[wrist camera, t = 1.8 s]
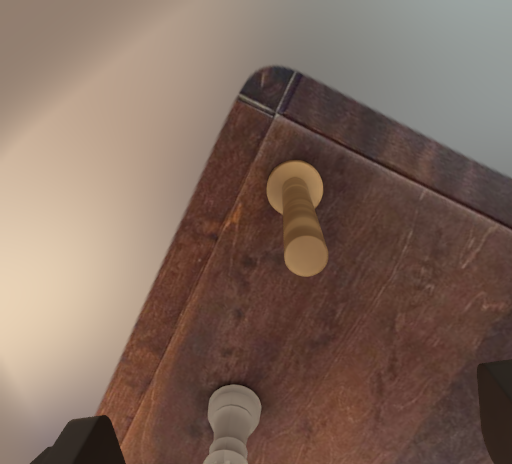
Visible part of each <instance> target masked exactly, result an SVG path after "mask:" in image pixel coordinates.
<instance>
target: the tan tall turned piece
mask: <svg viewBox="0 0 512 464" xmlns="http://www.w3.org/2000/svg"><path fill="white" fill-rule="evenodd" d="M266 191H267V197H268V200H269V202H270V204H271V205H272V207H273V208H274V209H275V210H276V211H278V212H279V213H281V214H283V236H284V259H285V263H286V265H287V267H288V268H289V269H290V270H291V271H292V272H293V273H295V274H297V275H300V276H312V275H315V274H317V273H319V272H320V271H321V270H322V269H323V268H324V267H325V266H326V264H327V261H328V250H327V247H326V243H325V240H324V237H323V234H322V231H321V228H320V225H319V222H318V218H317V215H316V212H315V208H316V207H317V206H318V204H319V203H320V201H321V198H322V195H323V182H322V179H321V177H320V175H319V173H318V171H317V170H316V169H315V168H314V167H313V166H312V165H311V164H309V163H307V162H305V161H302V160H288V161H285V162H283V163H281V164H279V165H278V166H276V167H275V168H274V169H273V171H272V172H271V174H270V175H269V178H268V181H267V188H266Z"/></svg>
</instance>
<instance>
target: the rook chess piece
mask: <svg viewBox="0 0 512 464" xmlns="http://www.w3.org/2000/svg"><path fill="white" fill-rule="evenodd" d="M260 414H261V403H260V400H259V398H258V397H257V395H256V394H255V393H254V392H253V391H252V390H250V389H248V388H246V387H244V386H241V385H234V384H233V385H228V386H223V387H221V388H220V389H218V390H217V391H215V392H214V393H213V395H212V396H211V398H210V399H209V408H208V419H209V422H210V425H211V427H212V429H213V432H214V442H213V443H212V445H211V446H210V451H209V454H210V455H208V456H207V458H206V459H205V461H204V463H203V464H248V462H247V461H246V459H247V454H248V452H247V449H246V443H247V439H248V437H249V436H250V434H251V433H253V431H254V430H255V428H256V427H257V425H258V423H259V419H260Z"/></svg>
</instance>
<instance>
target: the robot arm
mask: <svg viewBox="0 0 512 464" xmlns="http://www.w3.org/2000/svg"><path fill="white" fill-rule="evenodd" d="M477 379H478V392H479V406H480V419H481V429H482V434H483V438H484V442H485V445H486V448H487V450H488V453H489V455H490V457H491V459H492V461H493V463H494V464H512V359H511V360H503V361H496V362H489V363H482V364H479V365H478V368H477ZM30 464H126V463H125V460H124V457H123V454H122V451H121V449H120V446H119V443H118V440H117V437H116V434H115V431H114V428H113V425H112V423H111V420H110V419H109V418H108V417H107V416H106V415H102V416H94V417H88V418H81V419H73V420H71V421H69V422H68V424H67V425H66V426H65V428H64V429H63V431H62V432H61V434H60V436H59V437H58V439H57V440H56V442H55V444H54V445H53V446H52V447H48V448H46V449H45V450H44V451H43V452H42V453H41V454H40V455H39V456H38V457H37V458H35V459H34V460H33V461H32V462H31V463H30Z"/></svg>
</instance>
